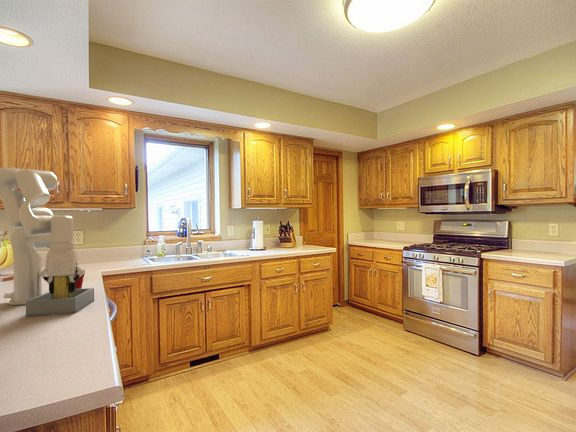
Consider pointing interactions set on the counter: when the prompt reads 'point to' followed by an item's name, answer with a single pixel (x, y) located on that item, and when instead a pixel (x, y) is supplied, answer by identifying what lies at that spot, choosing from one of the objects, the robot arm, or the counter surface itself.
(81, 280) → the plastic cup
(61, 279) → the vase
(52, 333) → the counter surface
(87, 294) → the box
